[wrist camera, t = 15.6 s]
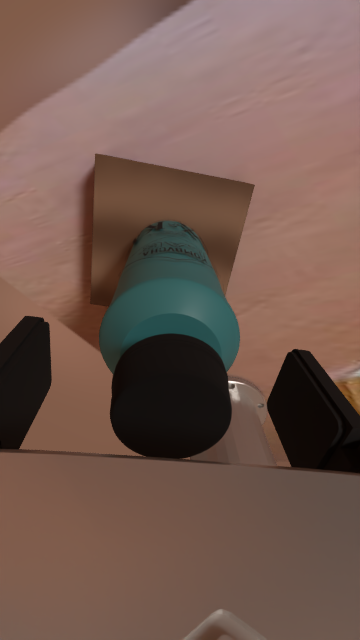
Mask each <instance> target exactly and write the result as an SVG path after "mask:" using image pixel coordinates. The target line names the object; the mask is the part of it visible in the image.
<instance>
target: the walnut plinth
mask: <svg viewBox="0 0 360 640" xmlns="http://www.w3.org/2000/svg"><path fill="white" fill-rule="evenodd" d="M254 186H255V185H253V184H249V183H245V182H239V181H234V180H229V179H224V178H219V177H214V176H209V175H204V174H199V173H194V172H188V171H183V170H178V169H173V168H168V167H163V166H158V165H153V164H148V163H143V162H137V161H132V160H127V159H122V158H117V157H112V156H107V155H101V154H95V177H94V208H93V239H92V270H91V301H90V304H96V305H103V306H110V304H111V301H112V299H113V296H114V294H115V291H116V289H117V286H118V282H119V280H118V278H119V279H120V277H121V274H122V272H123V269H124V267H125V264H126V262H127V259H128V257H129V255H130V254H129V253H130V252H131V250H132V247H133V245H134V244H133V240H134V239H135V237H137V236H138V235H139V234H140V233H141V231H142V230H143V229H145V228H146V225H147V227H148V226H149V225H151V224H153V223H156V221H157V220H158V221H157V222H159V221H162V220H161V219H163V221H176V222H178V221H179V223H182V224H184V225H186V226H188V227H189V228H191V229H192V228H193V230H194V232H195V233H196V234H197V236H198V237H199V236H200V237H201V238H202V240H201V239H200V237H199V239H200V240H201V243H202V245H203V247H204V249H205V251H206V248H207V250H208V251H206V253H207V252H208V253H207V256H208V258H209V260H210V262H211V264H212V267H213V269H215V270H214V271H215V273H216V275H217V278H218V280H219V282H220V285H221V288H222V291H223V293H224V295H225V294H226V290H227V286H228V283H229V279H230V275H231V271H232V268H233V264H234V260H235V256H236V253H237V249H238V245H239V242H240V238H241V234H242V230H243V227H244V223H245V219H246V216H247V212H248V208H249V204H250V201H251V197H252V193H253V189H254ZM172 219H173V220H172ZM183 222H184V223H183ZM187 224H188V225H187ZM142 228H143V229H142ZM198 234H199V235H198ZM202 241H203V242H202ZM203 243H204V244H203ZM205 246H206V247H205ZM129 249H130V250H129ZM128 251H129V253H128ZM127 253H128V255H127ZM126 256H127V257H126ZM210 256H211V257H210ZM125 258H126V259H125ZM213 264H214V265H213ZM121 269H122V271H121ZM120 272H121V273H120ZM119 273H120V274H119ZM220 277H221V278H220Z"/></svg>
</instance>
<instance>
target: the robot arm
mask: <svg viewBox="0 0 360 640" xmlns="http://www.w3.org/2000/svg"><path fill="white" fill-rule="evenodd" d="M228 382H229V394H230V399H231V405H232V418H231V422H230V425H229V428H228V430H227V432H226V433H225V435H224V436H223V437H222V438H221V440H220V441H219V442H218V443H216V444H215V445H214V446H212V447H211V448H209V449H208V450H206V451H204V452H202V453H200V454H197V455H194V456H191V457H190V460H186V459H172V458H158V457H143V456H127V455H112V454H96V453H81V452H63V451H44V450H22V449H19V448H20V446H21V444H22V442H23V440H24V438H25V436H26V434H27V432H28V430H29V428H30V426H31V424H32V422H33V420H34V418H35V416H36V414H37V412H38V410H39V409H40V407H41V405H42V403H43V401H44V399H45V397H46V395H47V393H48V391H49V389H50V386H51V357H50V331H49V323H48V322H44V319H43V318H40V317H33V316H25V317H24V318H23V319H22V320H21V321H20V322H19V323H18V324H17V326H16V327H15V328H14V329H13V330H12V331H11V332H10V333H9V334H8V335H7V336H6V338H5V339H4V340H3V341H2V342H1V343H0V640H360V416H359V414H358V413H357V412H356V410H355V409H354V408H353V407H352V405H351V404H350V403H349V401H348V400H347V399H346V398H345V396H344V395H343V394H342V392H341V391H340V390H339V389H338V387H337V386H336V385H335V383H334V382H333V381H332V380H331V378H330V377H329V376H328V374H327V373H326V372H325V370H324V369H323V368H322V367H321V365H320V364H319V363H318V361H317V360H316V359H315V358H314V356H313V355H312V354H311V352H309V351H306V350H298V349H294V350H292V351H291V352H289V353H288V354H287V355H286V358H285V360H284V363H283V365H282V367H281V370H280V372H279V375H278V377H277V379H276V382H275V384H274V386H273V389H272V391H271V394H270V396H269V398H268V401H267V405H266V401H265V399H264V397H263V395H262V393H261V392H260V390H259V389H258V388H257V387H256V386H254V385H253V384H251V383H250V382H248V381H246V380H242V379H239V378H234V377H228ZM267 409H268V412H269V414H270V417H271V419H272V422H273V424H274V426H275V429H276V431H277V433H278V436H279V438H280V441H281V443H282V445H283V448H284V450H285V453H286V455H287V457H288V460H289V462H290V464H291V467H282V466H277V464H276V461H275V459H274V456H273V453H272V451H271V448H270V446H269V443H268V440H267V438H266V435H265V432H264V430H263V427H262V425H263V424H264V422H265V419H266V416H267Z"/></svg>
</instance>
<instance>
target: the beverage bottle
mask: <svg viewBox="0 0 360 640" xmlns="http://www.w3.org/2000/svg"><path fill="white" fill-rule="evenodd" d="M161 220H162V221H159V222H157V221H158V220H157V221H156V223H153V224H151V225H149V226H148V227H147V225H146V228H145V229H143V228H142V229H143V230H142V231H141V233H140V234H139V235H138V236H137V237H135V239H134V240H133V244H134V245H133V247H132V250H131V252H130V253H129V251H128V253H129V254H130V255H129V257H128V259H127V262H126V264H125V267H124V269H123V272H122V274H121V277H120V279H119V278H118V280H119V282H118V286H117V289H116V291H115V294H114V296H113V299H112V301H111V304H110V306H109V308H108V309H107V311H106V313H105V315H104V317H103V320H102V323H101V327H100V332H99V345H100V350H101V354H102V356H103V359H104V361H105V363H106V365H107V366H108V368H109V369H110V371H111V372H112V373H113V379H112V399H111V408H110V419H111V423H112V427H113V430H114V432H115V434H116V436H117V437H118V438H119V440H121V442H122V443H123V444H124V445H125V446H126V447H128V448H129V449H131V450H132V451H134V452H136V453H138V454H141V455H143V456H146V457H158V458H172V459H182V458H187V457H191V456H194V455H197V454H200V453H202V452H204V451H206V450H208V449H209V448H211V447H212V446H214V445H215V444H216V443H218V442H219V441H220V440H221V438H222V437H223V436H224V435H225V433H226V432H227V430H228V428H229V425H230V422H231V418H232V405H231V399H230V394H229V382H228V376H227V371H228V370H229V368H230V367H231V366H232V364H233V362H234V360H235V358H236V356H237V353H238V349H239V342H240V332H239V326H238V322H237V319H236V316H235V314H234V312H233V310H232V308H231V306H230V305H229V303H228V302H227V300H226V298H225V295H224V293H223V291H222V288H221V285H220V282H219V280H218V278H217V275H216V273H215V271H214V270H215V269H213V267H212V264H211V262H210V260H209V258H208V256H207V253H208V252H207V253H206V251H208V250H207V248H206V251H205V249H204V247H203V245H202V243H201V240H202V238H201V237H200V236H199V237H200V239H201V240H200V239H199V237H198V236H197V234H196V233H195V232H194V230H193V228H192V229H191V228H189V227H188V226H186V225H184V224H182V223H179V221H178V222H176V221H163V219H161ZM172 220H173V219H172ZM183 223H184V222H183ZM187 225H188V224H187ZM198 235H199V234H198ZM202 242H203V241H202ZM203 244H204V243H203ZM205 247H206V246H205ZM129 250H130V249H129ZM128 253H127V255H128ZM126 257H127V256H126ZM210 257H211V256H210ZM125 259H126V258H125ZM213 265H214V264H213ZM121 271H122V269H121ZM120 273H121V272H120ZM120 273H119V274H120ZM220 278H221V277H220Z"/></svg>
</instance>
